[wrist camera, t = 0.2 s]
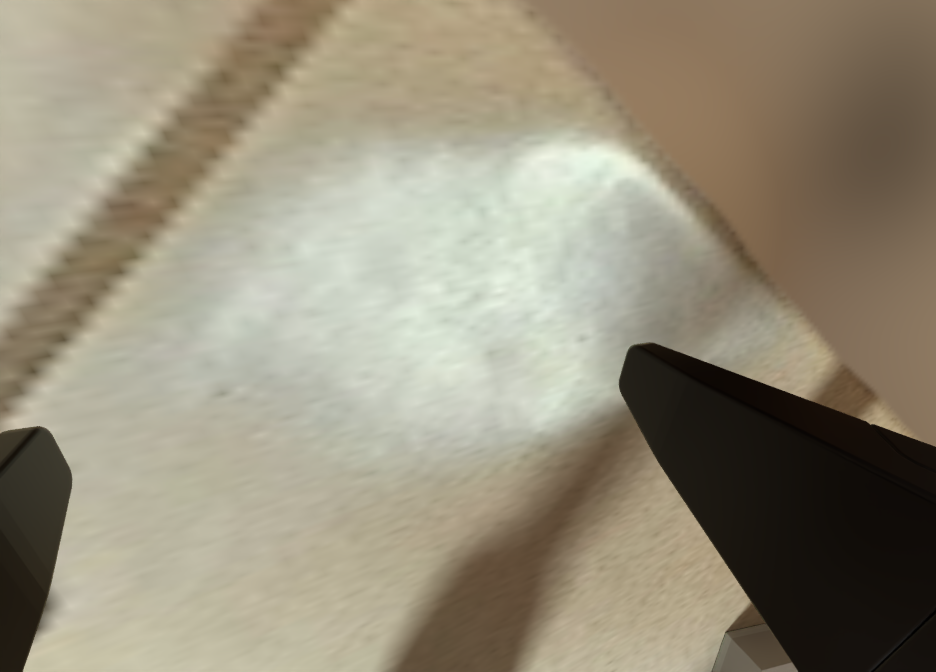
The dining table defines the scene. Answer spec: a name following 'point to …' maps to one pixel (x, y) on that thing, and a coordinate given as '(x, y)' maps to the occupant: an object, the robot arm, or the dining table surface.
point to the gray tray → (752, 652)
